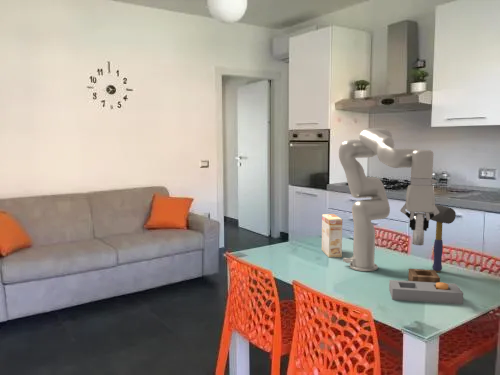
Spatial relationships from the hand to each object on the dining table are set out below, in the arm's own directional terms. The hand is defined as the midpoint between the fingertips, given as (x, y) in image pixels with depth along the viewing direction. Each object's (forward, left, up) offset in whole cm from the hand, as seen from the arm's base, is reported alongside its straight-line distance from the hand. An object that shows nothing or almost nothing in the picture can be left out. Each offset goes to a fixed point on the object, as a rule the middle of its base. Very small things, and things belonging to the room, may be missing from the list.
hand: (418, 229), depth 166 cm
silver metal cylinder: (0, 0, -6) cm, 6 cm away
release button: (+8, -8, -24) cm, 26 cm away
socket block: (+2, -8, -25) cm, 26 cm away
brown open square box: (+4, +5, -25) cm, 26 cm away
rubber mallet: (+14, +28, -25) cm, 40 cm away
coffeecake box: (-33, +50, -25) cm, 66 cm away
